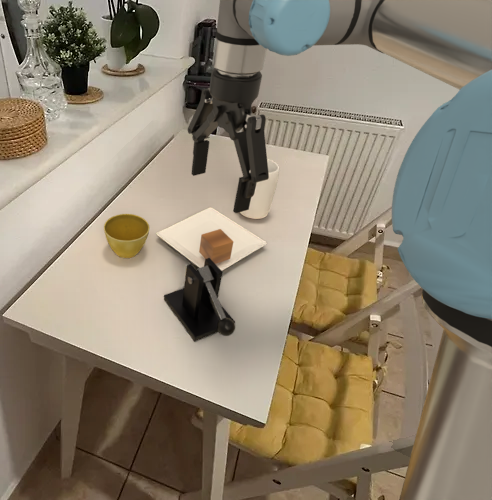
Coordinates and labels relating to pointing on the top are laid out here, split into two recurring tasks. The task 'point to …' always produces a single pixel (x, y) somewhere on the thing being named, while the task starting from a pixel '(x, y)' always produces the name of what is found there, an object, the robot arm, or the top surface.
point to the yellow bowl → (126, 234)
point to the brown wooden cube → (216, 246)
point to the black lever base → (197, 302)
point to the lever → (216, 303)
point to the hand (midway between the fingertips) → (218, 191)
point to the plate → (190, 230)
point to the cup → (263, 194)
